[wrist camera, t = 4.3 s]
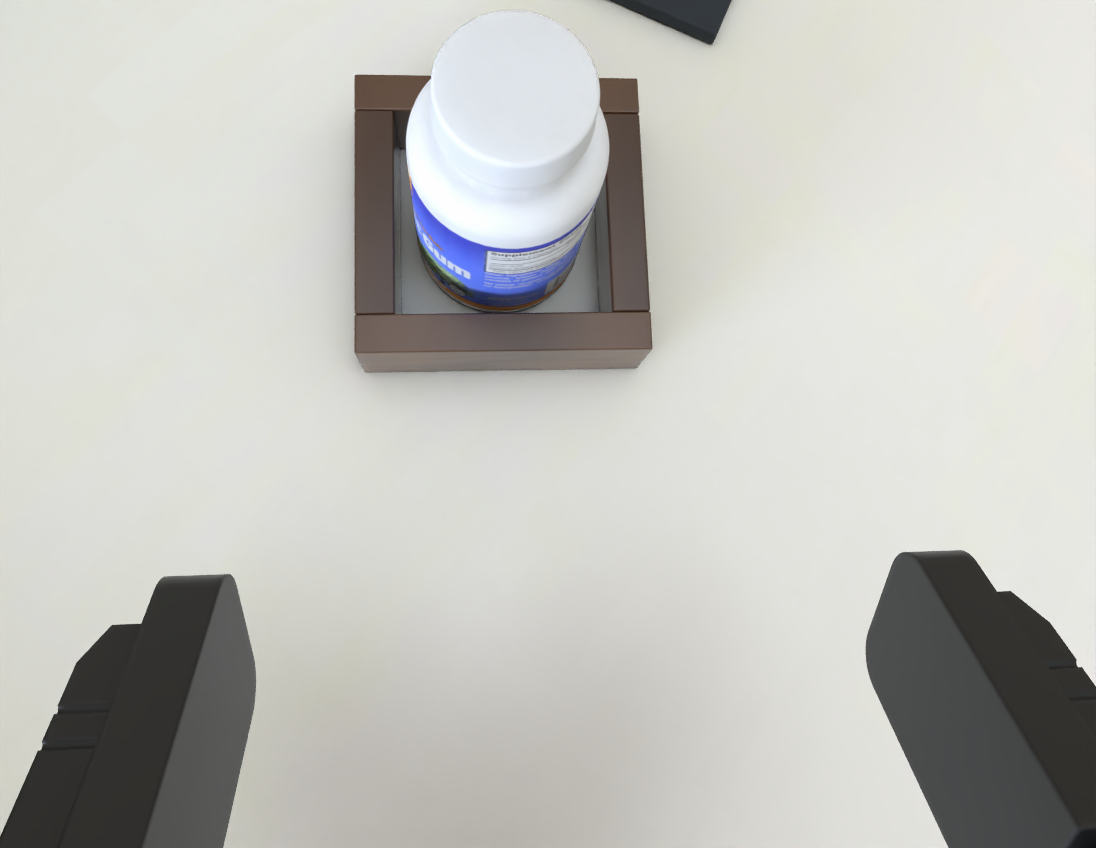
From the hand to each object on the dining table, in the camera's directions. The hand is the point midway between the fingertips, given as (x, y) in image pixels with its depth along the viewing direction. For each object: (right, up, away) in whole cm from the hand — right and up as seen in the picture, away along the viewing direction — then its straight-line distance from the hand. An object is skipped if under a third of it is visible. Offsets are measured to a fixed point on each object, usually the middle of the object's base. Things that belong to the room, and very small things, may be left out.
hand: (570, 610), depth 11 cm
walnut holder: (-2, +9, +19) cm, 21 cm away
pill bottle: (-2, +9, +19) cm, 21 cm away
